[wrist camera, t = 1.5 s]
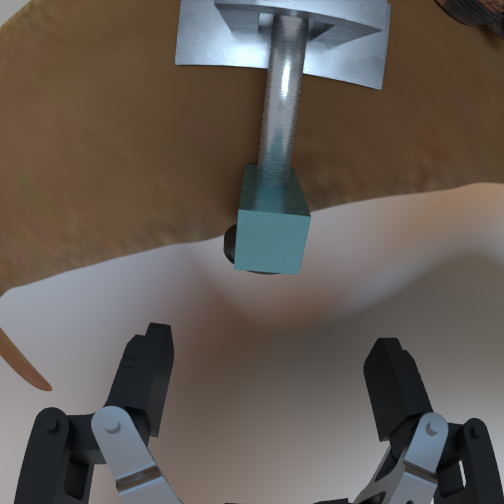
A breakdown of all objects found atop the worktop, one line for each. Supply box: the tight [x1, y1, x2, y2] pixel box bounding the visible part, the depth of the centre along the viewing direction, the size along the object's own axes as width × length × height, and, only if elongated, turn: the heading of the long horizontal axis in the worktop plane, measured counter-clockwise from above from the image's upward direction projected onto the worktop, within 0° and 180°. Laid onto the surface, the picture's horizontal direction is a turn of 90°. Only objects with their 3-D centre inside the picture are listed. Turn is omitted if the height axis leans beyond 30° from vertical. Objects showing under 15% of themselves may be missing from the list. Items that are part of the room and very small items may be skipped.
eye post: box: [175, 0, 391, 90], centre depth 14 cm, size 16×8×10 cm, turn 85°
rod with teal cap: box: [224, 15, 311, 275], centre depth 17 cm, size 6×21×9 cm, turn 175°
